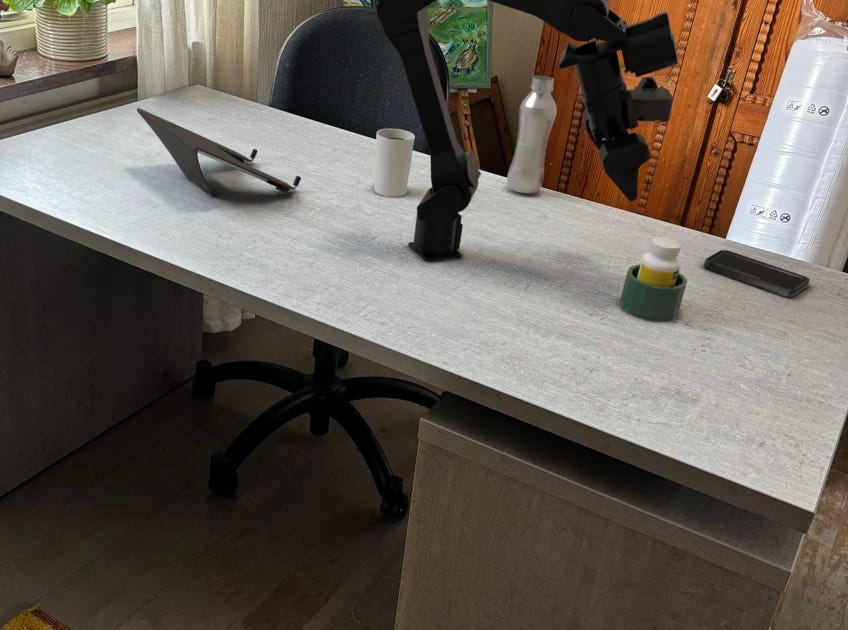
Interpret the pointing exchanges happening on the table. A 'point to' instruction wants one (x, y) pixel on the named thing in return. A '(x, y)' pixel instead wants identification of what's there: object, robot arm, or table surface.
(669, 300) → the crock
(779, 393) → the table surface
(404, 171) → the white cup
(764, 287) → the phone
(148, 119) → the laptop stand
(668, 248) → the supplement bottle
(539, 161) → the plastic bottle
